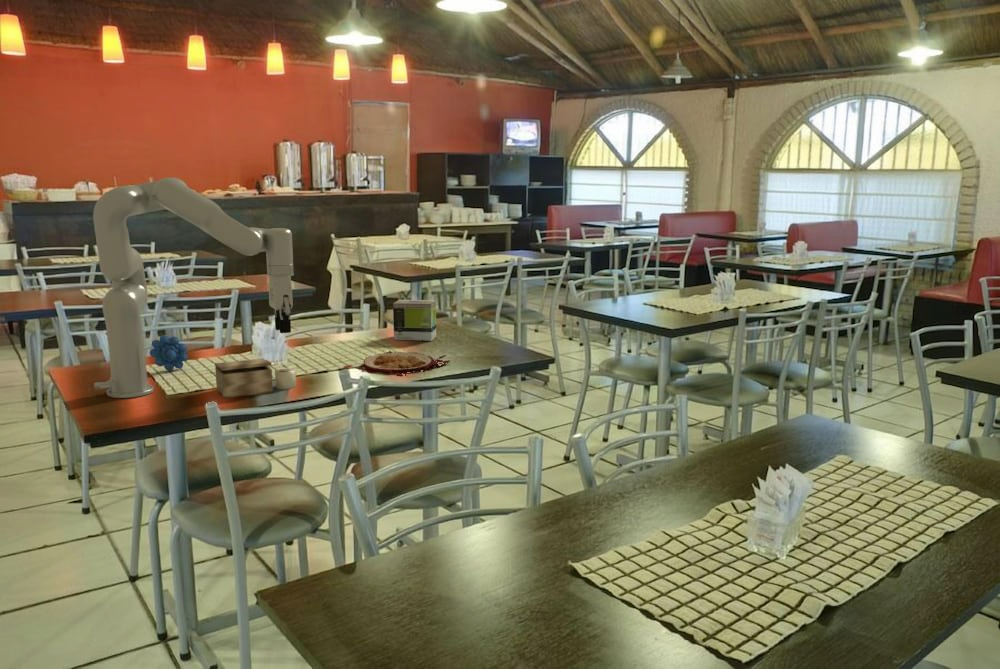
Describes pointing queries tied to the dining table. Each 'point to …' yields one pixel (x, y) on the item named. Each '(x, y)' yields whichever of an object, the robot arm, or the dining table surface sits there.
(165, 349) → the blue flower
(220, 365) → the lid
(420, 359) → the plate with food
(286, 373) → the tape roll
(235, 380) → the carton
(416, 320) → the tea box
